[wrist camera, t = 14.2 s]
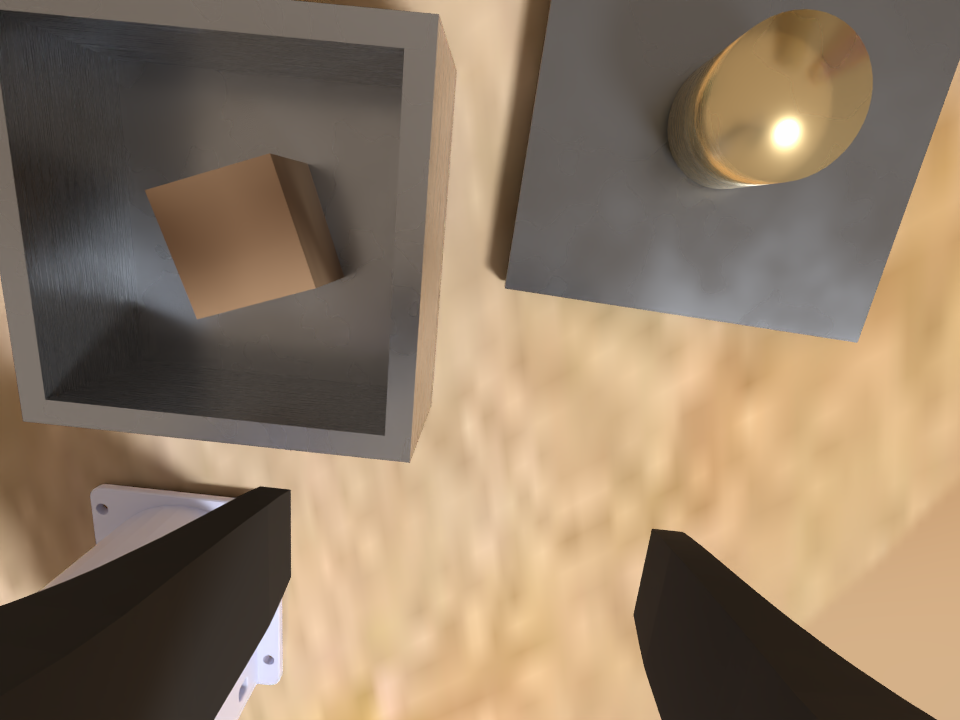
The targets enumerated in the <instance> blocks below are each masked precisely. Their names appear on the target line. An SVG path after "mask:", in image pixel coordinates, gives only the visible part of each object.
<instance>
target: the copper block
mask: <svg viewBox="0 0 960 720" xmlns="http://www.w3.org/2000/svg"><path fill="white" fill-rule="evenodd" d="M145 192H146V195H147V197H148V200H149V202H150V204H151V207H152V209H153V212H154V214H155V217H156V219H157V222H158V224H159V227H160V229H161V232H162V234H163V237H164V239H165V241H166V244H167V246H168V249H169V251H170V254H171V256H172V259H173V261H174V264H175V266H176V269H177V271H178V273H179V276H180V278H181V281H182V283H183V286H184V288H185V291H186V293H187V296H188V298H189V301H190V303H191V306H192V308H193V310H194V313H195V315H196V318H197V319H201V318H204V317H208V316H212V315H216V314H220V313H224V312H227V311H231V310H235V309H239V308H243V307H246V306H250V305H254V304H258V303H262V302H265V301H269V300H273V299H277V298H281V297H284V296H288V295H292V294H296V293H300V292H304V291H307V290H311V289H315V288H318V287H320V286H323V285H326V284H328V283H331V282H333V281H336V280H339V279H341V278H344V274H343V271H342V268H341V265H340V262H339V259H338V256H337V253H336V250H335V246H334V243H333V240H332V237H331V234H330V231H329V228H328V225H327V222H326V219H325V216H324V212H323V209H322V206H321V203H320V200H319V197H318V194H317V191H316V188H315V185H314V182H313V178H312V175H311V172H310V169H309V166H308V164H307V163H303V162H300V161H296V160H292V159H289V158H285V157H282V156H278V155H274V154H271V153H269V154H266V155H262V156H259V157H255V158H252V159H249V160H245V161H242V162H239V163H235V164H232V165H228V166H225V167H222V168H218V169H215V170H211V171H208V172H205V173H201V174H198V175H194V176H191V177H188V178H184V179H181V180H178V181H174V182H171V183H167V184H164V185H161V186H157V187H154V188H150V189H147V190H145Z"/></svg>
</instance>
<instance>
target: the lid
mask: <svg viewBox="0 0 960 720" xmlns="http://www.w3.org/2000/svg"><path fill="white" fill-rule="evenodd" d="M959 60H960V0H551V1H550V8H549V14H548V20H547V26H546V32H545V39H544V45H543V51H542V57H541V63H540V70H539V76H538V82H537V88H536V94H535V101H534V107H533V113H532V119H531V125H530V132H529V138H528V144H527V150H526V156H525V163H524V169H523V175H522V181H521V187H520V194H519V200H518V206H517V212H516V218H515V225H514V231H513V237H512V243H511V249H510V256H509V262H508V268H507V274H506V280H505V288H506V289H513V290H519V291H526V292H532V293H539V294H545V295H552V296H558V297H565V298H571V299H578V300H584V301H591V302H597V303H604V304H610V305H617V306H623V307H630V308H636V309H643V310H649V311H656V312H662V313H669V314H675V315H682V316H688V317H695V318H701V319H708V320H714V321H721V322H727V323H734V324H740V325H747V326H753V327H760V328H766V329H773V330H779V331H786V332H792V333H798V334H805V335H811V336H818V337H824V338H831V339H837V340H844V341H850V342H858V339H859V337H860V334H861V331H862V328H863V326H864V323H865V320H866V317H867V315H868V312H869V309H870V306H871V303H872V301H873V298H874V295H875V292H876V290H877V287H878V284H879V281H880V278H881V276H882V273H883V270H884V267H885V265H886V262H887V259H888V256H889V254H890V251H891V248H892V245H893V242H894V240H895V237H896V234H897V231H898V229H899V226H900V223H901V220H902V218H903V215H904V212H905V209H906V206H907V204H908V201H909V198H910V195H911V193H912V190H913V187H914V184H915V181H916V179H917V176H918V173H919V170H920V168H921V165H922V162H923V159H924V157H925V154H926V151H927V148H928V145H929V143H930V140H931V137H932V134H933V132H934V129H935V126H936V123H937V121H938V118H939V115H940V112H941V109H942V107H943V104H944V101H945V98H946V96H947V93H948V90H949V87H950V84H951V82H952V79H953V76H954V73H955V71H956V68H957V65H958V62H959Z"/></svg>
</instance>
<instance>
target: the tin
mask: <svg viewBox="0 0 960 720" xmlns="http://www.w3.org/2000/svg"><path fill="white" fill-rule="evenodd" d="M455 84H456V68H455V64H454V61H453V58H452V55H451V51H450V48H449V45H448V42H447V39H446V35H445V32H444V29H443V26H442V22H441V19H440V16H439V14H431V13H420V12H410V11H399V10H388V9H378V8H367V7H357V6H346V5H336V4H325V3H315V2H304V1H294V0H0V276H1V282H2V289H3V295H4V301H5V308H6V314H7V321H8V327H9V333H10V340H11V346H12V353H13V359H14V365H15V372H16V378H17V385H18V391H19V397H20V404H21V410H22V417H23V421H24V422H34V423H43V424H52V425H62V426H71V427H81V428H90V429H99V430H109V431H118V432H127V433H137V434H146V435H155V436H165V437H174V438H184V439H193V440H202V441H212V442H221V443H230V444H240V445H249V446H258V447H268V448H277V449H286V450H296V451H305V452H315V453H324V454H333V455H343V456H352V457H361V458H371V459H380V460H389V461H399V462H408V463H410V461H411V458H412V455H413V453H414V450H415V447H416V445H417V442H418V439H419V437H420V434H421V431H422V429H423V426H424V423H425V421H426V418H427V415H428V413H429V410H430V407H431V403H432V390H433V377H434V363H435V350H436V337H437V324H438V310H439V297H440V284H441V270H442V257H443V244H444V230H445V217H446V204H447V191H448V177H449V164H450V151H451V137H452V124H453V111H454V98H455ZM269 153H271V154H274V155H278V156H282V157H285V158H289V159H292V160H296V161H300V162H303V163H307V164H308V166H309V169H310V172H311V175H312V178H313V182H314V185H315V188H316V191H317V194H318V197H319V200H320V203H321V206H322V209H323V212H324V216H325V219H326V222H327V225H328V228H329V231H330V234H331V237H332V240H333V243H334V246H335V250H336V253H337V256H338V259H339V262H340V265H341V268H342V271H343V274H344V278H341V279H339V280H336V281H333V282H331V283H328V284H326V285H323V286H320V287H318V288H315V289H311V290H307V291H304V292H300V293H296V294H292V295H288V296H284V297H281V298H277V299H273V300H269V301H265V302H262V303H258V304H254V305H250V306H246V307H243V308H239V309H235V310H231V311H227V312H224V313H220V314H216V315H212V316H208V317H204V318H201V319H197V318H196V315H195V313H194V310H193V308H192V306H191V303H190V301H189V298H188V296H187V293H186V291H185V288H184V286H183V283H182V281H181V278H180V276H179V273H178V271H177V269H176V266H175V264H174V261H173V259H172V256H171V254H170V251H169V249H168V246H167V244H166V241H165V239H164V237H163V234H162V232H161V229H160V227H159V224H158V222H157V219H156V217H155V214H154V212H153V209H152V207H151V204H150V202H149V200H148V197H147V195H146V192H145V190H147V189H150V188H154V187H157V186H161V185H164V184H167V183H171V182H174V181H178V180H181V179H184V178H188V177H191V176H194V175H198V174H201V173H205V172H208V171H211V170H215V169H218V168H222V167H225V166H228V165H232V164H235V163H239V162H242V161H245V160H249V159H252V158H255V157H259V156H262V155H266V154H269Z"/></svg>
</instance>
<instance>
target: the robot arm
mask: <svg viewBox="0 0 960 720" xmlns="http://www.w3.org/2000/svg"><path fill="white" fill-rule="evenodd" d="M90 499H91V508H92V516H93V524H94V532H95V540H96V545H95V546H94V547H93V548H91V549H90V550H89V551H88V552H86V553H85V554H84V555H83V556H81V557H80V558H79V559H78V560H77V561H75V562H74V563H73V564H72V565H70V566H69V567H68V568H67V569H65V570H64V571H63V572H62V573H60V574H59V575H58V576H57V577H55V578H54V579H53V580H52V581H51V582H49V583H48V584H47V585H46V586H44V587H43V588H42V589H41V590H39V591H38V592H37V593H34V594H32V595H29V596H27V597H24V598H21V599H19V600H16V601H13V602H11V603H8V604H5V605H2V606H0V720H238V718H239V716H240V714H241V713H242V711H243V709H244V707H245V705H246V703H247V701H248V699H249V697H250V695H251V693H252V692H253V690H254V688H255V686H256V684H265V685H274V684H276V683H278V682H279V680H280V678H281V676H282V673H283V651H282V597H283V594H284V592H285V590H286V587H287V585H288V583H289V580H290V578H291V490H288V489H279V488H270V487H258V488H256V489H253V490H251V491H249V492H247V493H245V494H243V495H241V496H239V497H237V498H231V497H222V496H213V495H204V494H195V493H185V492H176V491H167V490H158V489H148V488H139V487H130V486H121V485H111V484H101V485H99V486H98V487H96V488H95V489H93V490H92V491H91V494H90ZM103 504H104V505H106V506H107V507H108V509H107V508H105V507H104V505H103ZM634 620H635V625H636V630H637V635H638V640H639V645H640V650H641V654H642V659H643V664H644V668H645V671H646V674H647V677H648V680H649V683H650V686H651V689H652V692H653V695H654V698H655V701H656V704H657V707H658V711H659V713H660V716H661V719H662V720H936V719H935V718H933V717H932V716H930V715H928V714H927V713H925V712H924V711H922V710H920V709H919V708H917V707H915V706H914V705H912V704H911V703H909V702H907V701H906V700H904V699H903V698H901V697H900V696H898V695H897V694H895V693H894V692H892V691H891V690H889V689H888V688H886V687H885V686H883V685H882V684H880V683H879V682H877V681H876V680H874V679H873V678H871V677H870V676H868V675H867V674H865V673H864V672H862V671H861V670H859V669H858V668H856V667H855V666H853V665H852V664H851V663H849V662H848V661H846V660H845V659H844V658H842V657H841V656H839V655H838V654H836V653H835V652H834V651H832V650H831V649H829V648H828V647H827V646H825V645H824V644H823V643H821V642H820V641H819V640H818V639H816V638H815V637H814V636H812V635H811V634H810V633H808V632H807V631H806V630H804V629H803V628H802V627H800V626H799V625H798V624H796V623H795V622H794V621H792V620H791V619H790V618H789V617H787V616H786V615H785V614H783V613H782V612H781V611H780V610H778V609H777V608H776V607H775V606H773V605H772V604H771V603H770V602H768V601H767V600H766V599H765V598H763V597H762V596H761V595H760V594H759V593H757V592H756V591H755V590H754V589H752V588H751V587H750V586H749V585H748V584H746V583H745V582H744V581H743V580H742V579H740V578H739V577H738V576H737V575H736V574H734V573H733V572H732V571H731V570H730V569H729V568H727V567H726V566H725V565H724V564H723V563H721V562H720V561H719V560H718V559H717V558H715V557H714V556H713V555H712V554H711V553H709V552H708V551H707V550H706V549H705V548H703V547H702V546H701V545H700V544H698V543H697V542H696V541H695V540H693V539H692V538H691V537H689V536H688V535H686V534H685V533H684V532H677V531H668V530H659V529H652V531H651V536H650V540H649V545H648V550H647V554H646V559H645V564H644V568H643V573H642V578H641V582H640V587H639V592H638V596H637V601H636V606H635V610H634ZM268 655H269V656H272V657H273V658H272V657H269V656H268Z"/></svg>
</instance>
